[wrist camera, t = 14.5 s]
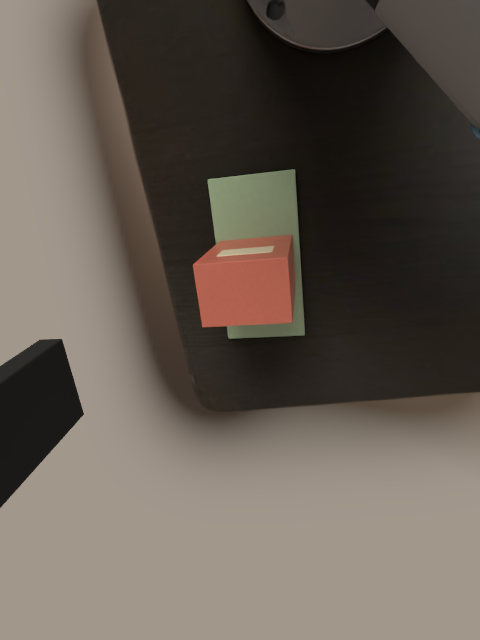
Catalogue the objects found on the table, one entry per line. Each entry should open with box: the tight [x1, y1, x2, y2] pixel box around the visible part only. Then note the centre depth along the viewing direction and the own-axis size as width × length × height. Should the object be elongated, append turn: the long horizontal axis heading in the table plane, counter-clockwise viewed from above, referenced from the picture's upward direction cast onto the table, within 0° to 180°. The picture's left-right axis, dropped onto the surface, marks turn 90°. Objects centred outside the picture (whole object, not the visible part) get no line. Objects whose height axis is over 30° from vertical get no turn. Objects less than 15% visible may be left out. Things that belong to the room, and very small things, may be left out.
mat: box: [208, 169, 305, 339], centre depth 39 cm, size 16×8×1 cm, turn 6°
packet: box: [193, 235, 296, 327], centre depth 34 cm, size 5×7×10 cm
